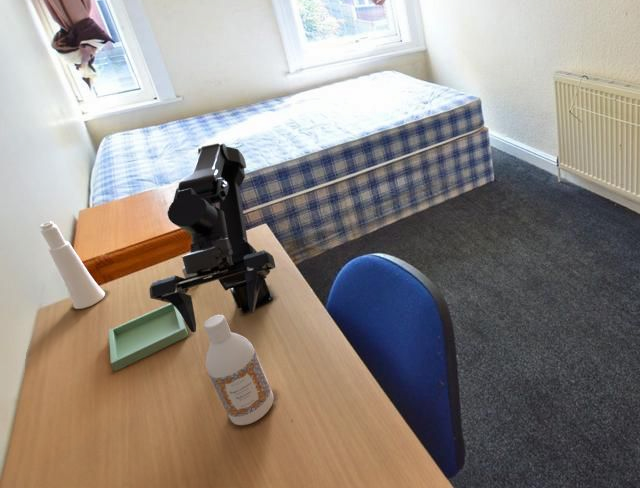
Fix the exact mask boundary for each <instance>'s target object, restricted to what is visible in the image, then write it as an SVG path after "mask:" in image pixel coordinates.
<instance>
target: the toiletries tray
mask: <svg viewBox="0 0 640 488" xmlns="http://www.w3.org/2000/svg"><path fill="white" fill-rule="evenodd" d="M187 337H189V333H188V330H187V326H186V322H185V321H184V319H183V317H182V316H181V314H180V312H179V311H178V310H177V309H176V307H175V306H174V305H173V304H172V303H167V304H165V305H163V306H160V307H157V308H156V309H153V310H150V311H148V312H147V313H145V314H142V315H140V316H138V317H135V318H133V319H131V320H128V321H125V322H124V323H121V324H119V325H117V326H115V327H113V328H109V329H108V344H109V358H110V365H111V366H112V369H113V370H114V372H117V371H119V370H121V369H123V368H125V367H127V366H130V365H132V364H133V363H135V362H138V361H140V360H142V359H144V358H146V357H148V356H150V355H153V354H155V353H156V352H158V351H161V350H162V349H164V348H167V347H169V346H171V345H173V344H175V343H177V342H179V341H181V340H184V339H185V338H187Z"/></svg>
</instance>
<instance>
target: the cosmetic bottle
mask: <svg viewBox="0 0 640 488" xmlns="http://www.w3.org/2000/svg"><path fill="white" fill-rule="evenodd" d="M39 227H40V233H41V234H42V237H43V238H44V239H45V240H44V241H46V243H47V245H48V246H49V247H48V252H49V254H50V256H51V259H52V260H53V262H54V264H55V266H56V268H57V270H58V272H59V274H60V277H61V278H62V281H63V282H64V285H65V287H66V290H67V292H68V294H69V296H70V299H71V302H72V306H73V308H74V309H75V310H81V309H86V308H89V307H92V306H94V305H95V304H97V303H99V302H100V301H101V300H103V299H104V297H105V295H106V293H105V291H104V290H103V289H102V288H101V287H100V286H99V285H98V282H96V281H95V279H94V278H93V277H92V275H91V274H90V272H89V271H88V269H87V267H86V266H85V265H84V263H83V261H82V260H81V258H80V257H79V255H78V253H77V252H76V251H75V249H74V248H73V246H72V245H71V242H70V241H66V239H65V237H64V236H63V234H62V232H61V230H60V229H59V226H58V225H57V224H55V223H54V222H53V221H47V222H44V223H41V224H40V225H39Z"/></svg>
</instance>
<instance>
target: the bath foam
mask: <svg viewBox="0 0 640 488" xmlns="http://www.w3.org/2000/svg"><path fill="white" fill-rule="evenodd" d="M203 328H204V330H205V332H206V334H207V336H208V339H209V341H210V343H209V346H208V349H207V352H206V355H205V356H206V357H205V368H206V372H207V374H208V377H209V378H210V381H211V382H212V385H213V387H214V389H215V391H216V393H217V396H218V397H219V400H220V401H221V403H222V405H223V407H224V409H225V412H226V413H227V415H228V417H229V419H230V421H231V423H232V424H234V425H236V426H246V425H250V424H252V423H255V422H257V421H259V420H260V419H261V418H263V417H264V416H265V415H266V414H267V413H268V412H269V411H270V409H271V408H272V405H273V403H274V393H273V390H272V388H271V386H270V383H269V380H268V378H267V376H266V373H265V371H264V369H263V365H262V364H261V361H260V359H259V357H258V354H257V351H256V349H255V347H254V346H253V344H252V343H251V342H250V340H249V339H248V338H246V337H245V336H243V335H241V334H239V333H236V332H232V330H231V329H230V326H229V324H228V322H227V319H226V317H225V315H223V314H215V315H212V316H211V317H209V318H208V319H206V320H205V321H204V323H203Z"/></svg>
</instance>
